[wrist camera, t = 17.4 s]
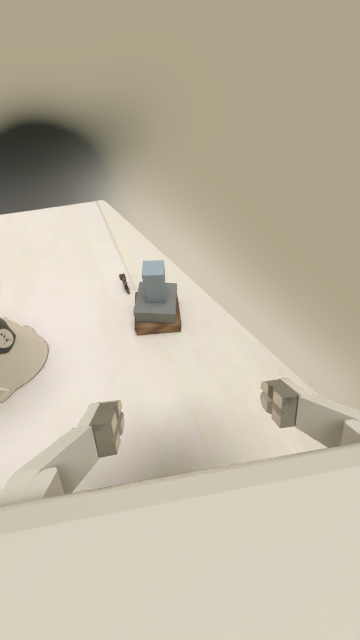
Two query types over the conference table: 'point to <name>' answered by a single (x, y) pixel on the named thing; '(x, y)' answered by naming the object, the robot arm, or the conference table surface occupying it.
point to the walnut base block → (158, 324)
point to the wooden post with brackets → (122, 277)
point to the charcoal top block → (156, 306)
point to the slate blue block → (154, 281)
